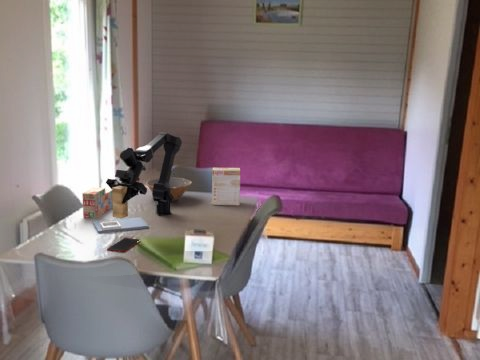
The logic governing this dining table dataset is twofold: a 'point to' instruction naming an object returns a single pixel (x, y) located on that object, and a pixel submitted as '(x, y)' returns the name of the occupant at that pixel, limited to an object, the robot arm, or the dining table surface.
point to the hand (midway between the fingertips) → (118, 202)
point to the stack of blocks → (96, 202)
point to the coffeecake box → (226, 186)
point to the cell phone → (123, 245)
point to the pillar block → (119, 202)
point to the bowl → (173, 186)
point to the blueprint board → (120, 225)
